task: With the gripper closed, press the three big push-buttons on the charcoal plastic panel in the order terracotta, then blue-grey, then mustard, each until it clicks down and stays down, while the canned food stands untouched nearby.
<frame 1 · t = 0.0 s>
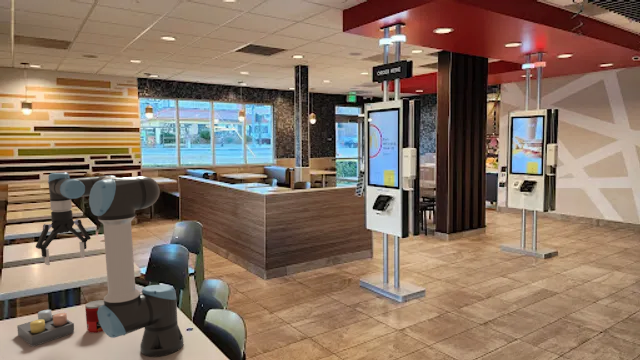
hand: (65, 260, 184), 28 cm above the table, fingers open, 13 cm apart
button terracotta: (60, 319, 179), point 6 cm above the table, slide at 0.0 cm
canned food: (97, 329, 183), on the table
button panel: (46, 333, 179), on the table
button mustard: (37, 326, 173), point 6 cm above the table, slide at 0.0 cm
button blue: (44, 316, 183), point 6 cm above the table, slide at 0.0 cm
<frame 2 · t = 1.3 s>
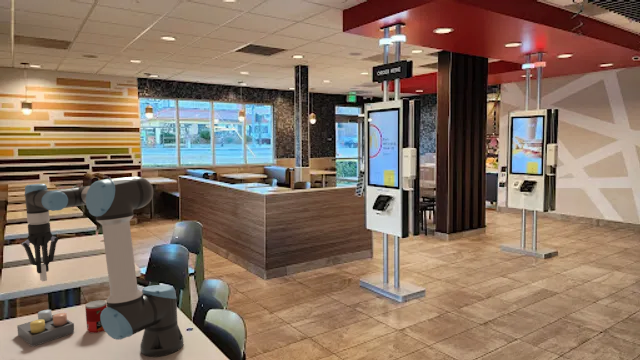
hand: (43, 280, 179), 22 cm above the table, fingers closed
nothing on the table moved.
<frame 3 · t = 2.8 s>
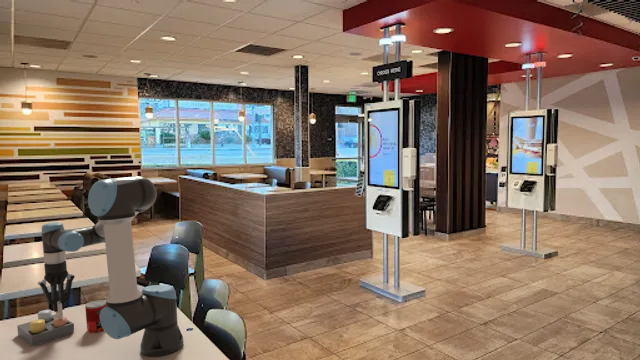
hand: (59, 318, 179), 6 cm above the table, fingers closed
button terracotta: (60, 323, 179), point 4 cm above the table, slide at 1.6 cm, touching gripper
everything else where it was.
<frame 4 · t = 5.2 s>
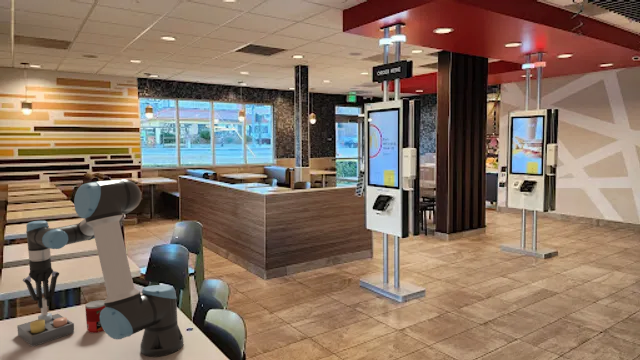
hand: (44, 314, 183), 6 cm above the table, fingers closed
button terracotta: (60, 323, 179), point 4 cm above the table, slide at 1.9 cm
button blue: (45, 319, 183), point 4 cm above the table, slide at 1.4 cm, touching gripper
everything else where it was.
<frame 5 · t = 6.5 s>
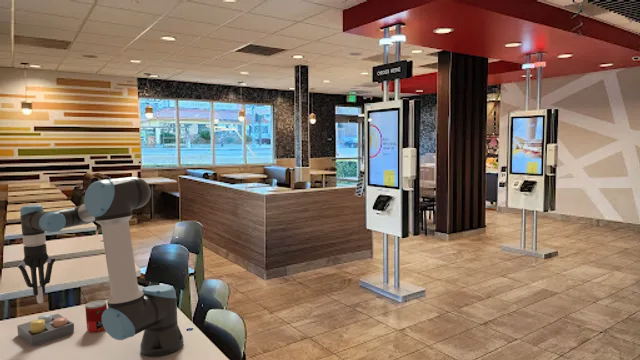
hand: (40, 302, 177), 14 cm above the table, fingers closed
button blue: (45, 320, 183), point 4 cm above the table, slide at 1.8 cm
everything else where it was.
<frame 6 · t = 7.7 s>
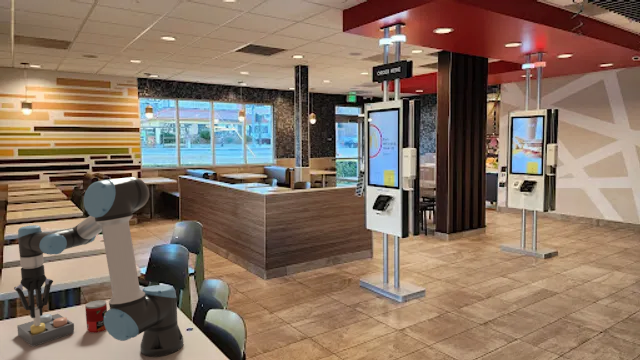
hand: (37, 324, 173), 6 cm above the table, fingers closed
button mustard: (38, 329, 173), point 4 cm above the table, slide at 1.4 cm, touching gripper
everything else where it was.
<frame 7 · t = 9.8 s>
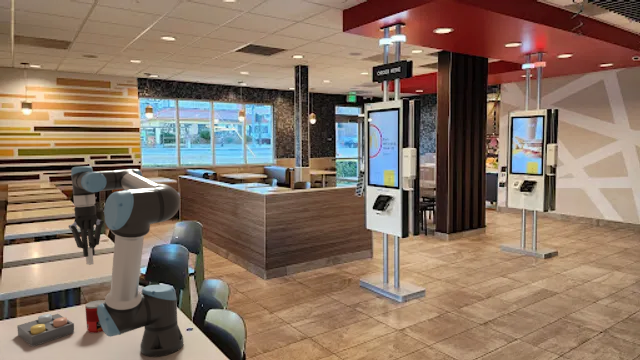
hand: (89, 263, 177), 29 cm above the table, fingers closed
button mustard: (38, 330, 173), point 4 cm above the table, slide at 1.9 cm
everything else where it was.
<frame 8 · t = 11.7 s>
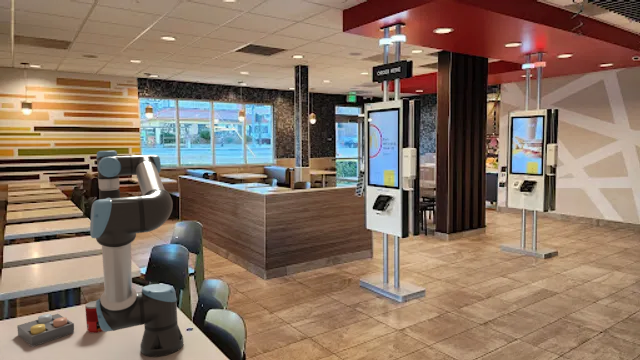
hand: (113, 246, 180), 34 cm above the table, fingers closed
nothing on the table moved.
at the end: button terracotta slide at 1.9 cm; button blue slide at 1.8 cm; button mustard slide at 1.9 cm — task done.
